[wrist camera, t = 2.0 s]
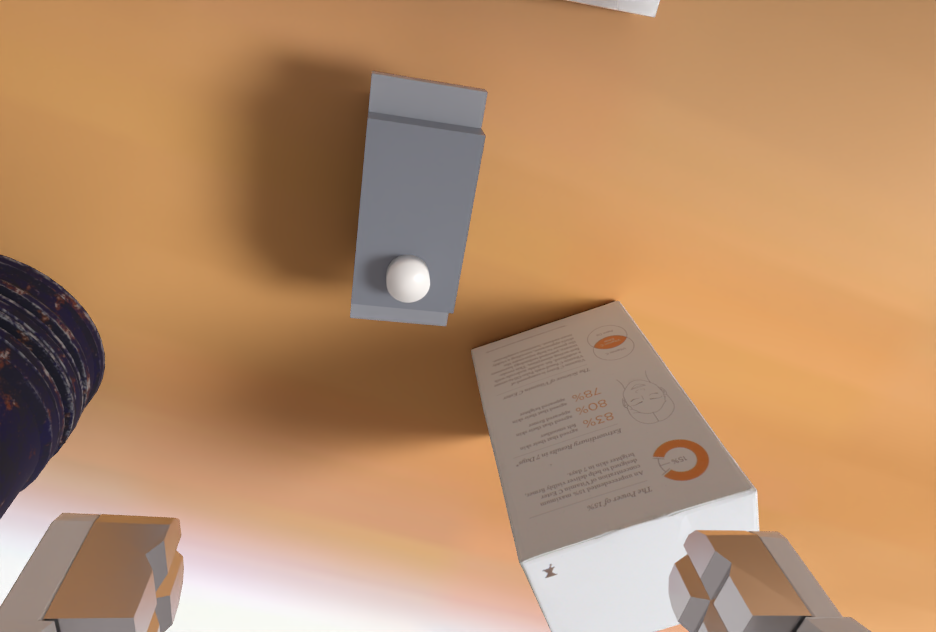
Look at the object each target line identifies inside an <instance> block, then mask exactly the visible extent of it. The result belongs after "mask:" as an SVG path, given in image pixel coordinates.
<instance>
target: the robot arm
mask: <svg viewBox="0 0 936 632" xmlns="http://www.w3.org/2000/svg"><path fill="white" fill-rule="evenodd" d="M180 538H181V529H180V521H179V519H177V518H167V517H147V516H127V515H107V514H102V515H98V514H75V513H62V514H61V515H60V516H59V517H58V518H56V519H55V520H54V521H53V522H52V523H51V525H50V526H49V528H48V529H47V531H46V533H45V534H44V536H43V538H42V539H41V541H40V543H39V544H38V546H37V547H36V549H35V551H34V552H33V554H32V556H31V557H30V559H29V561H28V562H27V564H26V565H25V567H24V569H23V570H22V572H21V574H20V575H19V577H18V579H17V580H16V582H15V584H14V585H13V587H12V588H11V590H10V592H9V593H8V595H7V597H6V598H5V600H4V602H3V603H2V605H1V606H0V632H165V631H166V630H167V629H168V628H169V627H170V626H171V625H172V624H173V621H174V618H175V614H176V611H177V608H178V605H179V599H180V594H181V589H182V584H183V571H184V565H183V556H182V555H181V554H180V553H178V552H177V551H176V549H177V546H178V543H179V540H180ZM683 546H684V548H685V550H686V553H687V555H685V556H684V557H683V558H681V559H680V560H678V561H677V562H676V563H674V566H673V568H672V570H671V573H670V575H669V588H668V594H669V598H670V603H671V607H672V609H673V612H674V614H675V616H676V618H677V621H678V622H679V623H680V624H681V625H682V626H683V627H685V628H686V629H687V630H688V631H689V632H871V631H870V630H868V629H867V628H865V627H864V626H863V625H861V624H860V623H858V622H857V621H856V620H854V619H853V618H851V617H842V615H841V614H840V612H839V611H838V610H837V608H836V607H835V605H834V604H833V603H832V601H831V600H830V598H829V597H828V596H827V594H826V593H825V592H824V590H823V589H822V587H821V586H820V585H819V583H818V582H817V580H816V579H815V578H814V576H813V575H812V573H811V572H810V571H809V569H808V568H807V566H806V565H805V564H804V562H803V561H802V559H801V558H800V557H799V555H798V554H797V553H796V551H795V550H794V548H793V547H792V546H791V544H790V543H789V541H788V540H787V539H786V538H785V537H784V536H783V535H781V534H780V533H779V532H770V531H735V530H695V531H694V532H692V533H691V534H689V535H688V537H687V539H686V541H685V543H684V545H683Z"/></svg>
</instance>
